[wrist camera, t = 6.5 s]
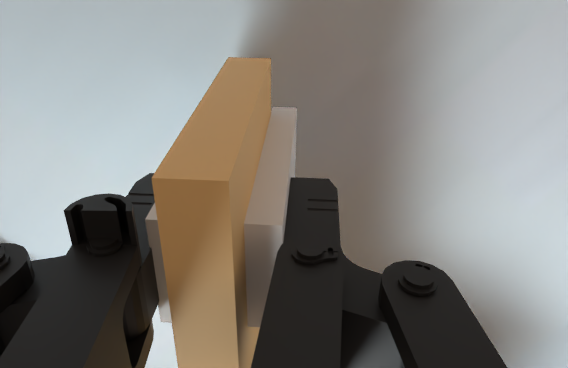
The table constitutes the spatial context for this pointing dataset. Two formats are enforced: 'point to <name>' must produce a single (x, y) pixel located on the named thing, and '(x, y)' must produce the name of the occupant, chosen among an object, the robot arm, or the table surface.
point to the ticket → (213, 216)
